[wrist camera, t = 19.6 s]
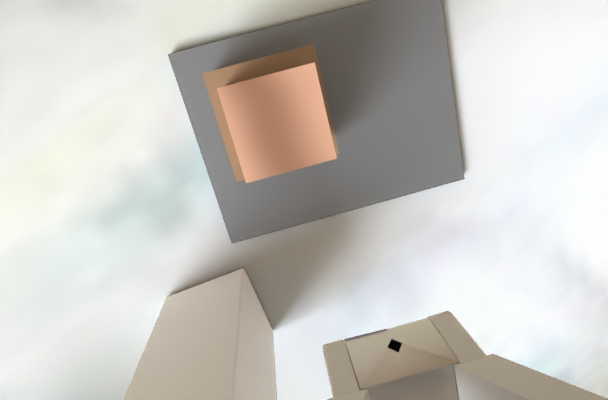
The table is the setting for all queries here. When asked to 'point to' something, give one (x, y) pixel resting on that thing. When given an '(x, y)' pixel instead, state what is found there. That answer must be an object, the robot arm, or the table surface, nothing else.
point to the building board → (334, 111)
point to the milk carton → (209, 346)
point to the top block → (278, 122)
